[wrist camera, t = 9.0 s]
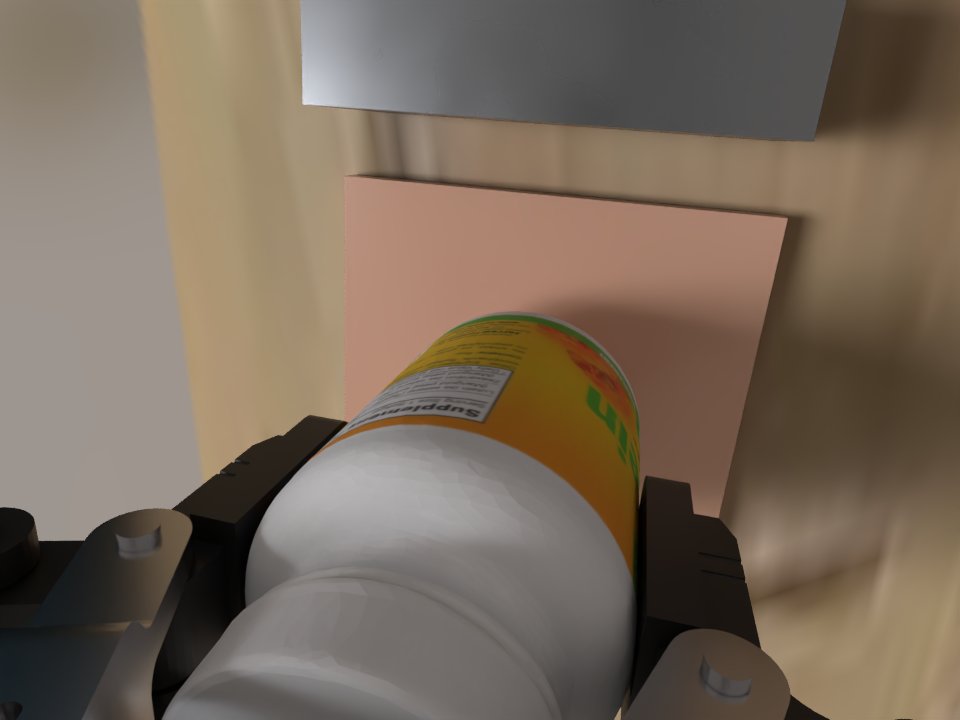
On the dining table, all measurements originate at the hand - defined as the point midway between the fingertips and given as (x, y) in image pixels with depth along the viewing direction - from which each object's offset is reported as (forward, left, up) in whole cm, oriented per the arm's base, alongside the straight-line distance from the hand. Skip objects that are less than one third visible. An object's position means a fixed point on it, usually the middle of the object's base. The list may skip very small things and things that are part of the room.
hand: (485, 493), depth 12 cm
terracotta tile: (0, 0, -5) cm, 5 cm away
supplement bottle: (0, 0, -4) cm, 4 cm away
